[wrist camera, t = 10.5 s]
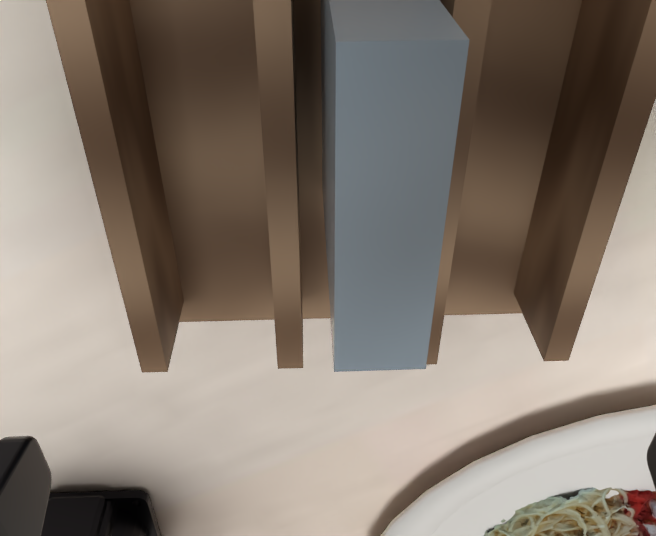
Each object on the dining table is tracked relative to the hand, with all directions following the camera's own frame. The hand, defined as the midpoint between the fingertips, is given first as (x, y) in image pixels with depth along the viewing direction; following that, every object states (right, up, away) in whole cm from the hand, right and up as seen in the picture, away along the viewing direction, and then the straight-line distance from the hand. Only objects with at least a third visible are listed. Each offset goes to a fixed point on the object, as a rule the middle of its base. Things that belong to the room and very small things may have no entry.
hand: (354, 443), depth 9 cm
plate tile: (0, +8, +9) cm, 12 cm away
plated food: (+16, -14, +28) cm, 35 cm away
